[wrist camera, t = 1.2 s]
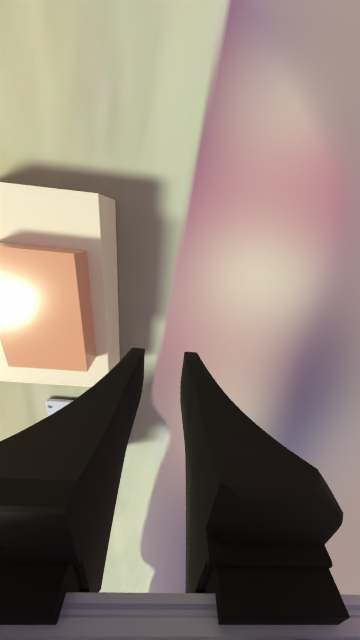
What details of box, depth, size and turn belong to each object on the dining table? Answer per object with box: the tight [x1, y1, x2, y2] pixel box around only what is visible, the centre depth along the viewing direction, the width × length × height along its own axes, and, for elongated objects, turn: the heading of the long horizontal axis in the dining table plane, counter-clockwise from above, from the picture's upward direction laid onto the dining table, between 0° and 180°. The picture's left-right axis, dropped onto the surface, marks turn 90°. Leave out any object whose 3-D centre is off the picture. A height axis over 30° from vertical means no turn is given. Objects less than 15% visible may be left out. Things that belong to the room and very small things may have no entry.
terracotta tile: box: [0, 241, 96, 372], centre depth 15 cm, size 9×6×2 cm, turn 174°
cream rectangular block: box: [0, 182, 120, 387], centre depth 18 cm, size 16×10×4 cm, turn 174°
